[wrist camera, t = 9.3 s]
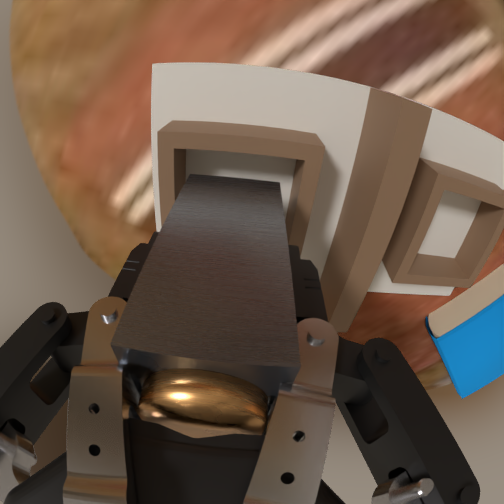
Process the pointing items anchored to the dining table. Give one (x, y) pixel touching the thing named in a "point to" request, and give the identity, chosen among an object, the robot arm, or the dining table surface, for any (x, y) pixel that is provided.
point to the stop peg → (213, 311)
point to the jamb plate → (338, 173)
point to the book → (472, 334)
